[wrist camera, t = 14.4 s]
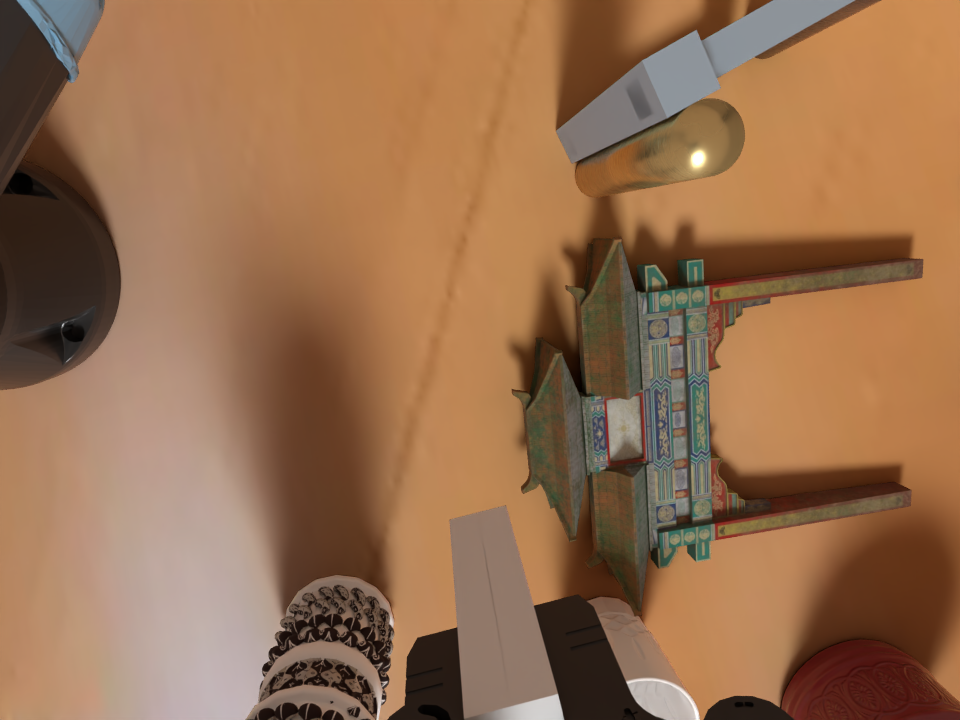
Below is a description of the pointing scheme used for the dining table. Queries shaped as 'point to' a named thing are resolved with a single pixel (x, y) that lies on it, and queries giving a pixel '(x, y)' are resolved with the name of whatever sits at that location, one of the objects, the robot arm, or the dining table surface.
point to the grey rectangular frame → (684, 74)
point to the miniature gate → (664, 414)
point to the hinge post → (818, 26)
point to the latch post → (667, 151)
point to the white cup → (644, 662)
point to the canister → (867, 686)
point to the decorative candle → (329, 654)
